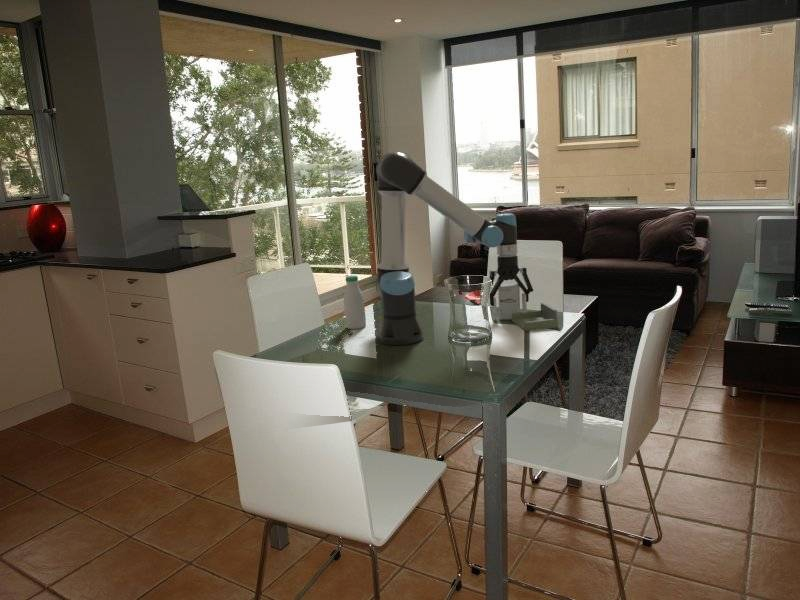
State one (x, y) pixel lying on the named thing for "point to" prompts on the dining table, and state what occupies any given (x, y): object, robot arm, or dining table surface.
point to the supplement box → (508, 300)
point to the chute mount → (536, 318)
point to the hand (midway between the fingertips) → (509, 312)
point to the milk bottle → (354, 304)
